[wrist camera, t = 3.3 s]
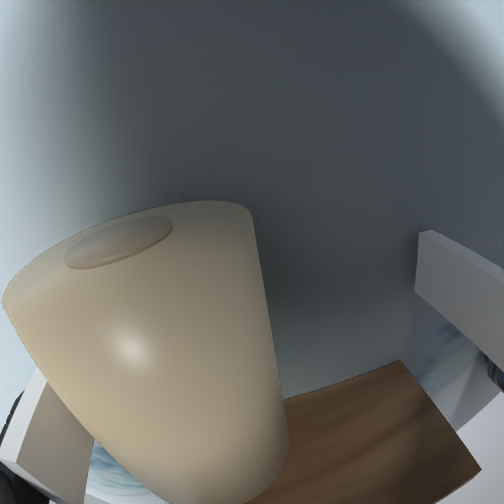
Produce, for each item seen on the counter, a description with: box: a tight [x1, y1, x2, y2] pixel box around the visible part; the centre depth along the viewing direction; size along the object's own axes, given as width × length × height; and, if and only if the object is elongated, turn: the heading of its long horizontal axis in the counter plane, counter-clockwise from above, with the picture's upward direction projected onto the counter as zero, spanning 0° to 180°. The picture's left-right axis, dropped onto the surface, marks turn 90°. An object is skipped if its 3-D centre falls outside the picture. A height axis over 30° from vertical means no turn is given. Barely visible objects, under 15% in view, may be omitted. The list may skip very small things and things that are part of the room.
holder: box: [244, 360, 482, 504], centre depth 12 cm, size 13×11×8 cm
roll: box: [2, 201, 289, 504], centre depth 8 cm, size 8×6×6 cm
